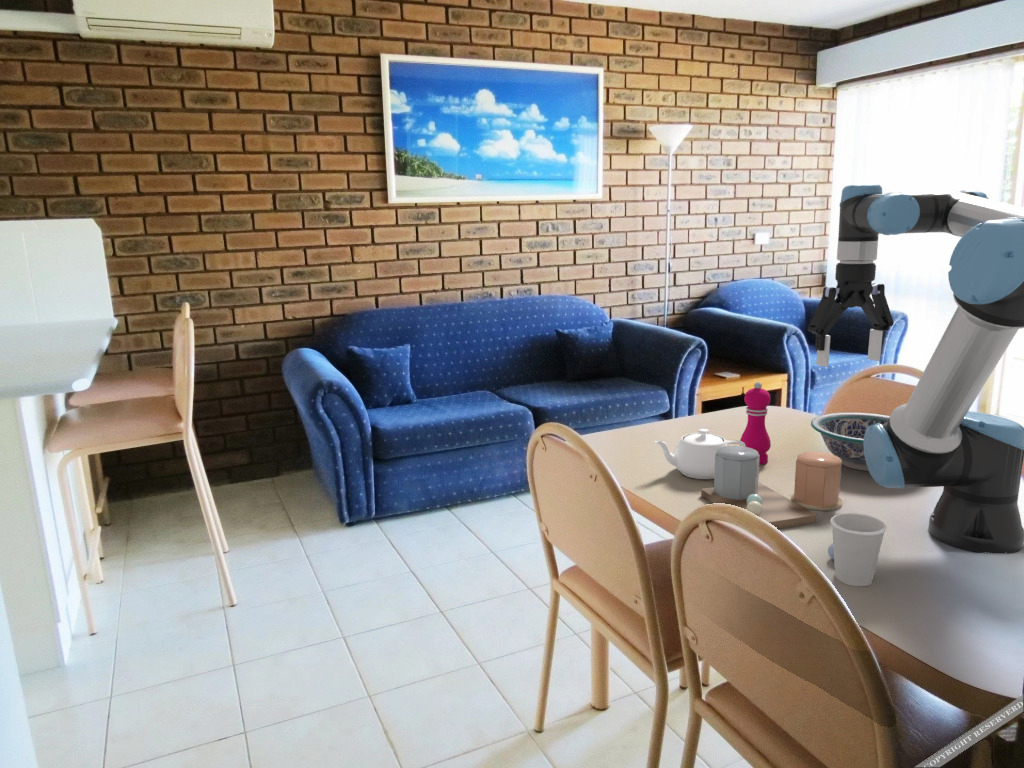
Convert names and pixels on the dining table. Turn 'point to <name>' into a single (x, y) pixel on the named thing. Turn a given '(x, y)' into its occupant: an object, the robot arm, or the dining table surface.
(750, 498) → the marble
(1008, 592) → the dining table surface
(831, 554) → the marble
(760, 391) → the pepper mill
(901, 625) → the dining table surface
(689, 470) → the teapot
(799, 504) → the coaster
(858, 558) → the dixie cup
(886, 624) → the dining table surface
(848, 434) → the bowl
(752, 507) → the marble
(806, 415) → the dining table surface
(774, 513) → the board
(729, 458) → the grey faceted canister
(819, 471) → the peach faceted canister
